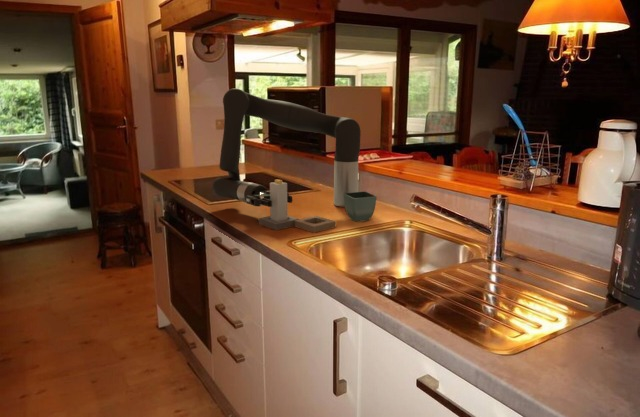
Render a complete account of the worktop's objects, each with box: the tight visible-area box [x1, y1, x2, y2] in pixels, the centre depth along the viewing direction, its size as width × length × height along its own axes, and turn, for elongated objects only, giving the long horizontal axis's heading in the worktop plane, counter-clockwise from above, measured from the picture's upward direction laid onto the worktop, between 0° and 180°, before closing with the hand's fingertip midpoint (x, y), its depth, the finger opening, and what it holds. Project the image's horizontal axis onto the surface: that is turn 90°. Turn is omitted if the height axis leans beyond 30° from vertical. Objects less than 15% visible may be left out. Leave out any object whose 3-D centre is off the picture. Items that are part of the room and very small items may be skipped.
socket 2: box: [293, 215, 337, 233], centre depth 158 cm, size 10×10×2 cm
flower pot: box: [343, 190, 378, 223], centre depth 166 cm, size 9×9×9 cm
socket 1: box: [258, 214, 300, 231], centre depth 161 cm, size 10×10×2 cm
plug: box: [269, 179, 288, 222], centre depth 159 cm, size 4×4×15 cm
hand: (281, 201), depth 158 cm, fingers open, 8 cm apart
